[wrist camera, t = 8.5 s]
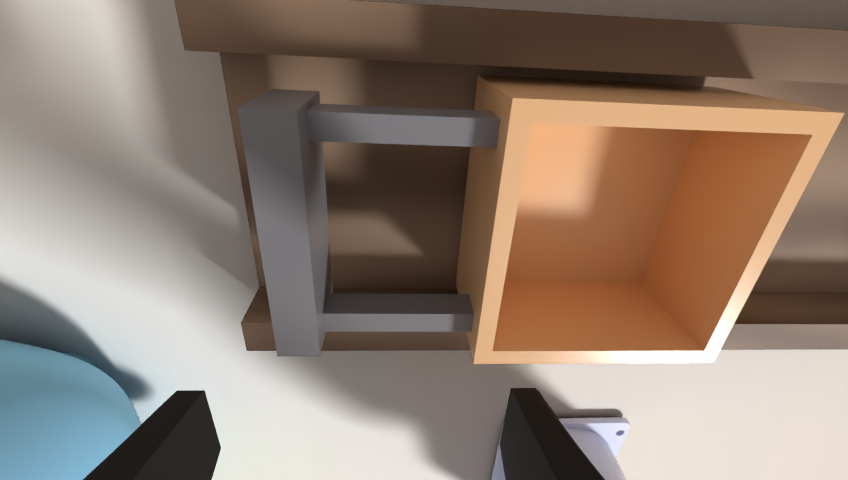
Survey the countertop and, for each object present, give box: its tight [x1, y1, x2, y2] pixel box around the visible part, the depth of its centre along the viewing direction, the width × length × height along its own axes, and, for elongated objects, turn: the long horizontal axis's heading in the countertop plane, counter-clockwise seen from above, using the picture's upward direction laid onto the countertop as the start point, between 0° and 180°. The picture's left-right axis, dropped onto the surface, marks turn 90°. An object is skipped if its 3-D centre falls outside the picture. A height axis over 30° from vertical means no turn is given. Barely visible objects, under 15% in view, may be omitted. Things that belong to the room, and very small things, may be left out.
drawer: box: [238, 75, 844, 364], centre depth 14 cm, size 9×16×5 cm, turn 87°
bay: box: [175, 0, 848, 351], centre depth 15 cm, size 13×34×7 cm, turn 87°
